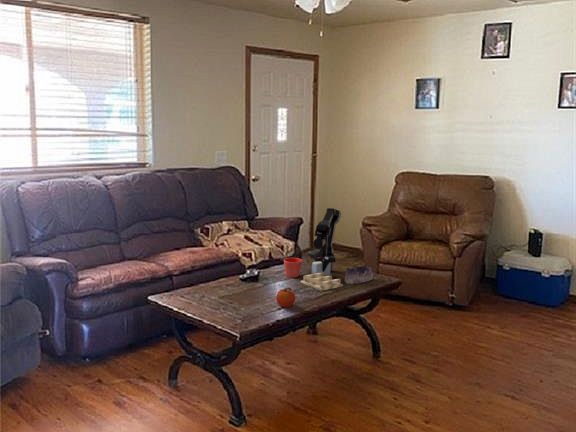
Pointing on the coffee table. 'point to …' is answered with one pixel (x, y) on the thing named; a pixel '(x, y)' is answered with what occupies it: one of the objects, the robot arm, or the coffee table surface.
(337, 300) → the coffee table surface
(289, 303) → the fruit
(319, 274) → the rack
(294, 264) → the flower pot
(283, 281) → the coffee table surface
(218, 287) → the coffee table surface
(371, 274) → the geode
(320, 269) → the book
